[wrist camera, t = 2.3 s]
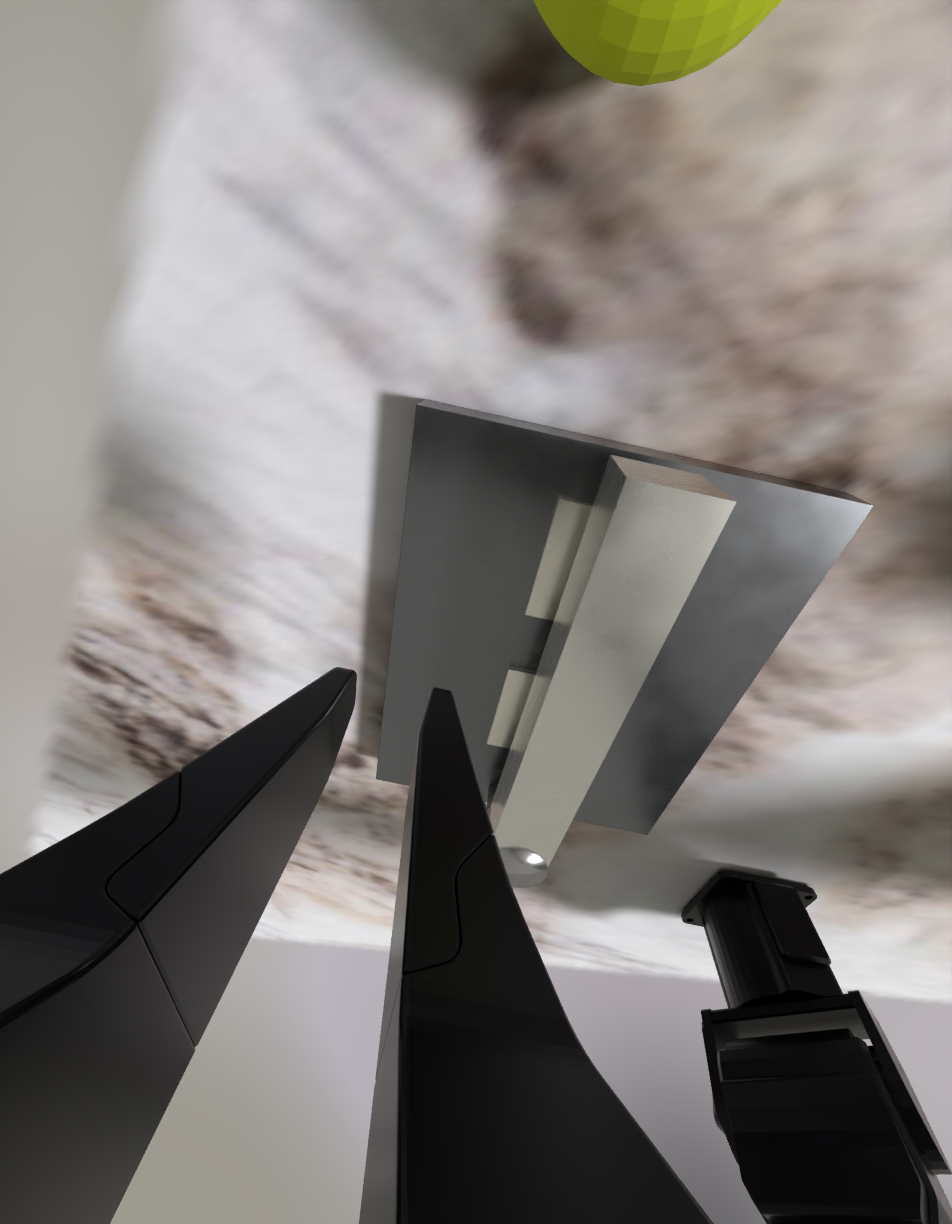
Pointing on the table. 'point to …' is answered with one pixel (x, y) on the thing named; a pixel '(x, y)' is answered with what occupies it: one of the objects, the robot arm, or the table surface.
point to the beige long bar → (601, 648)
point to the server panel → (535, 581)
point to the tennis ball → (650, 34)
